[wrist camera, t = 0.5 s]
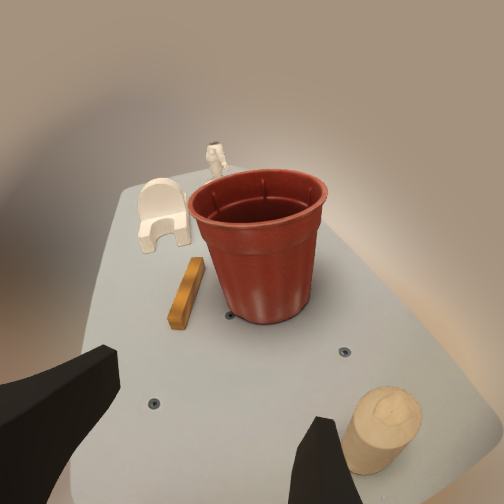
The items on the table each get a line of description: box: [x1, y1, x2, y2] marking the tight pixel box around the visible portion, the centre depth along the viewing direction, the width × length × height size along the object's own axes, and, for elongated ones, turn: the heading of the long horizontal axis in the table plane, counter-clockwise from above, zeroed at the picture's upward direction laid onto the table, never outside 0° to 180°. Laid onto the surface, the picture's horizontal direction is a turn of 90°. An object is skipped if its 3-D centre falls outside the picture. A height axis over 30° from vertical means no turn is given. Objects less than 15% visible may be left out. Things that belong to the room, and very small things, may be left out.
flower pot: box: [188, 169, 328, 324], centre depth 40 cm, size 16×16×16 cm
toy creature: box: [205, 142, 229, 184], centre depth 80 cm, size 12×6×12 cm, turn 19°
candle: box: [341, 387, 422, 475], centre depth 21 cm, size 6×6×10 cm
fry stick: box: [167, 257, 205, 329], centre depth 46 cm, size 14×2×2 cm, turn 175°
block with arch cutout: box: [137, 178, 191, 254], centre depth 63 cm, size 18×10×11 cm, turn 12°
